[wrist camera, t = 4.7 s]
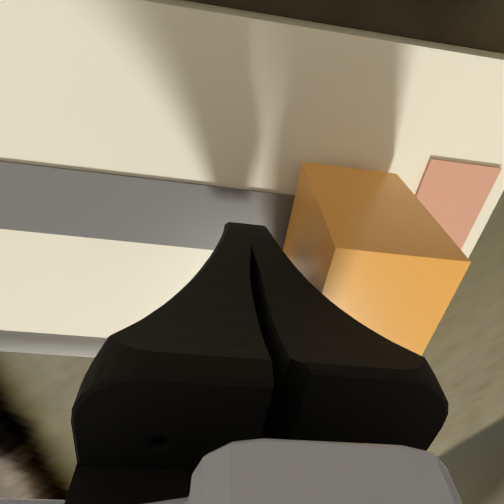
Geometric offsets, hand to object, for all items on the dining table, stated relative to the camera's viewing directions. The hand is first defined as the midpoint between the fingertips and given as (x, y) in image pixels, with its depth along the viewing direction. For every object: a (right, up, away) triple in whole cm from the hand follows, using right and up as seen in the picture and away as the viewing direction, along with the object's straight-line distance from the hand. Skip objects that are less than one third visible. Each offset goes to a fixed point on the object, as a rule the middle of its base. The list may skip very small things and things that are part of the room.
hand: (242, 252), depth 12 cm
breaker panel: (-3, +3, +4) cm, 6 cm away
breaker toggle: (+3, +1, +2) cm, 3 cm away
